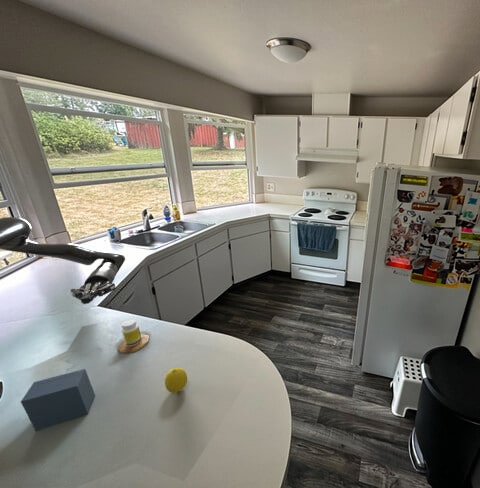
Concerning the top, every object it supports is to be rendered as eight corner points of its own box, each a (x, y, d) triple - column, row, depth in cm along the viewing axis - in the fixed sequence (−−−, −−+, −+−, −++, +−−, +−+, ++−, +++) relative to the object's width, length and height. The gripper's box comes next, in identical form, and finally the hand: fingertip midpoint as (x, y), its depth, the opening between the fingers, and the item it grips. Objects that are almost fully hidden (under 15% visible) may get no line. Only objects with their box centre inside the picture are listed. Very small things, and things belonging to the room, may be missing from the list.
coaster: (115, 356, 85) (115, 354, 84) (121, 339, 92) (121, 338, 92) (147, 348, 89) (147, 346, 88) (150, 333, 96) (150, 331, 96)
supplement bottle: (144, 340, 91) (139, 321, 88) (129, 348, 87) (124, 328, 84) (137, 335, 93) (132, 317, 90) (123, 343, 89) (117, 323, 87)
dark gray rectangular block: (35, 431, 62) (20, 401, 58) (47, 410, 67) (33, 381, 63) (88, 414, 66) (76, 386, 63) (95, 395, 71) (85, 368, 68)
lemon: (162, 396, 72) (157, 375, 69) (177, 380, 77) (173, 360, 74) (179, 401, 70) (174, 379, 68) (193, 384, 75) (189, 364, 73)
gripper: (75, 273, 94) (54, 295, 80) (119, 267, 100) (107, 287, 85) (81, 291, 97) (62, 315, 82) (124, 284, 102) (113, 306, 88)
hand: (85, 301), depth 84 cm, fingers closed
